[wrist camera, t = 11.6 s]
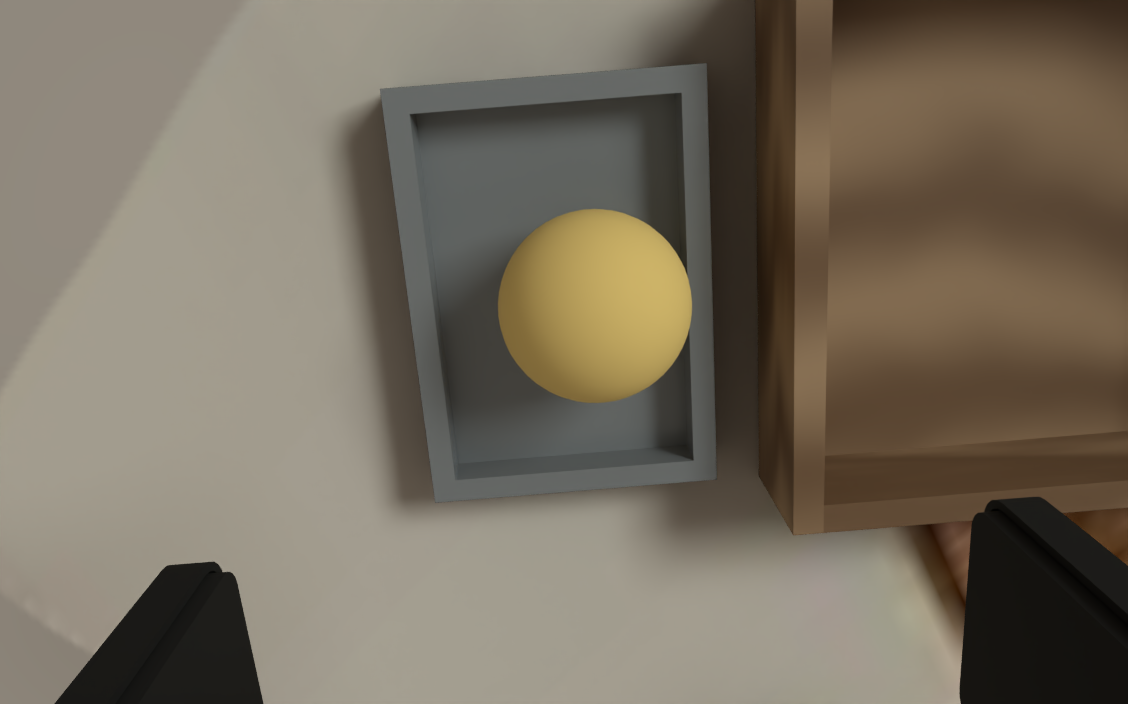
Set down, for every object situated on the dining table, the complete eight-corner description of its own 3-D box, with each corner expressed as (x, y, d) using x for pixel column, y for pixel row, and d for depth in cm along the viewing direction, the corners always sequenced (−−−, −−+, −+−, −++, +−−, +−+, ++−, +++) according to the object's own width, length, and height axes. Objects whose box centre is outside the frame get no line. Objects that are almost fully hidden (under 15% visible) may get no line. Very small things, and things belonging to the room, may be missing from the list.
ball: (644, 357, 31) (731, 407, 25) (486, 388, 29) (543, 448, 23) (635, 191, 29) (726, 206, 24) (466, 212, 27) (523, 233, 22)
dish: (705, 456, 32) (716, 479, 30) (441, 478, 32) (435, 502, 30) (695, 65, 28) (706, 63, 26) (391, 89, 28) (379, 88, 26)
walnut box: (1227, 437, 32) (1334, 490, 28) (758, 475, 32) (793, 535, 28) (1315, -83, 27) (1464, -117, 23) (755, -40, 27) (796, -65, 22)
